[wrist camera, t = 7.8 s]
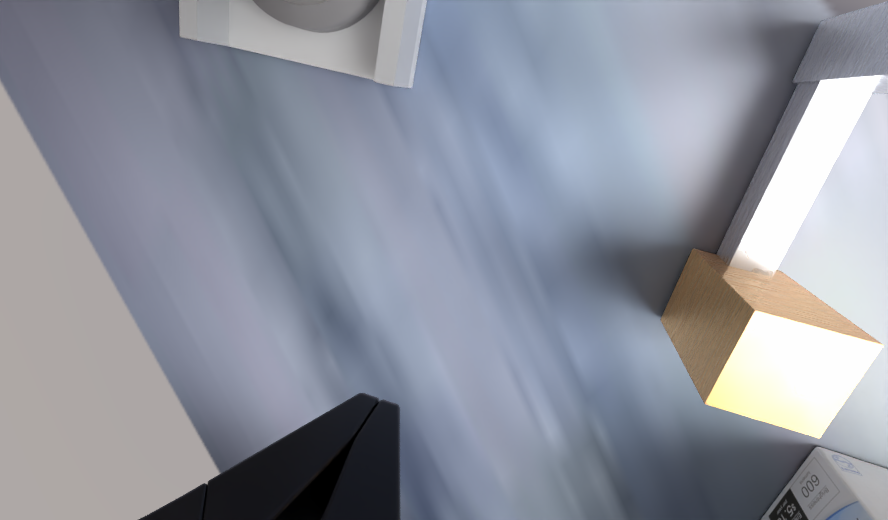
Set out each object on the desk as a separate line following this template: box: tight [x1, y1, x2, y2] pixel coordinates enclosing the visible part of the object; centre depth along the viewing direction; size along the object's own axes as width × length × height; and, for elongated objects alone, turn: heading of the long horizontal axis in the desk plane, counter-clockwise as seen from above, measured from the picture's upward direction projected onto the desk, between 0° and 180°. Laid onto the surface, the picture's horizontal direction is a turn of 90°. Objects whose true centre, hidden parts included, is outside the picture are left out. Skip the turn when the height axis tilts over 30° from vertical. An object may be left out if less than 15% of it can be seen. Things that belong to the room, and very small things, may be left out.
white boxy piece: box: [661, 1, 888, 438], centre depth 11 cm, size 13×13×15 cm
